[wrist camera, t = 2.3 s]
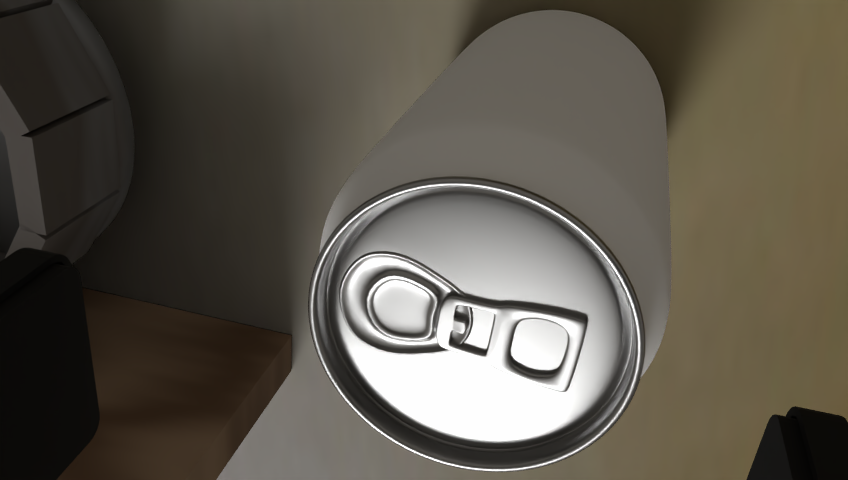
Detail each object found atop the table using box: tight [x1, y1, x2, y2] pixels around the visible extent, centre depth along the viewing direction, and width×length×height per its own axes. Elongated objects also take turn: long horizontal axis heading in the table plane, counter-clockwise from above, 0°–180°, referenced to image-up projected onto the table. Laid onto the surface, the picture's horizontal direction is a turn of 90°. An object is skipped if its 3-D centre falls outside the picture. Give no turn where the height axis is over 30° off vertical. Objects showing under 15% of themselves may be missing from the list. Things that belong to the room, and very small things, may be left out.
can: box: [308, 10, 671, 472], centre depth 18 cm, size 6×6×12 cm
